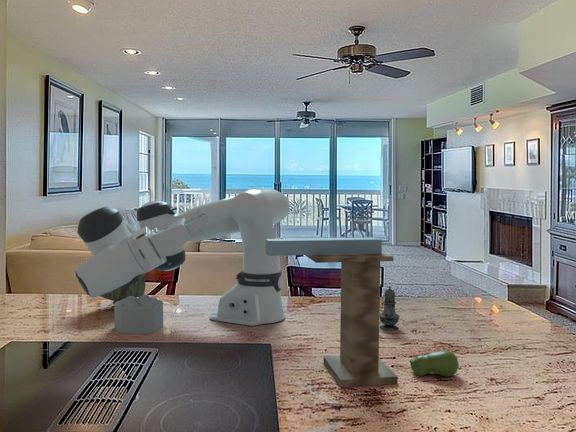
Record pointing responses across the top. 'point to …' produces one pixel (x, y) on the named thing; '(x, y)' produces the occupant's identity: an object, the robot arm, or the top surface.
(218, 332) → the top surface
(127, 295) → the tabletop clock
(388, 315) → the dark chess piece
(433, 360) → the pear
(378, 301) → the shelf stand
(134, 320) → the lumpy-topped squat cylinder
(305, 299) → the top surface
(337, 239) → the batten
